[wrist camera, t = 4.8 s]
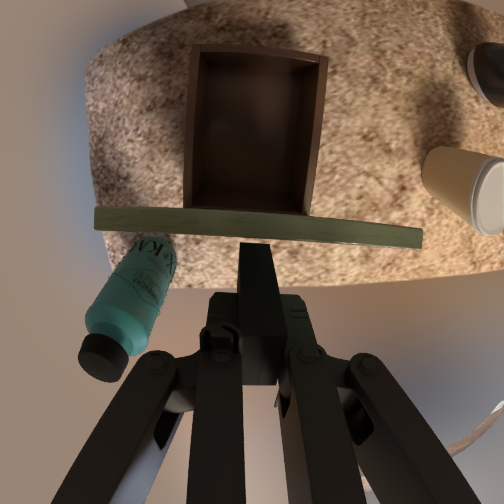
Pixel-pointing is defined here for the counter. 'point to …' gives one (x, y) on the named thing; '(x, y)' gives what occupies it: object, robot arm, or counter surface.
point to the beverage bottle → (127, 309)
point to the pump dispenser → (488, 71)
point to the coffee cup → (467, 186)
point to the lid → (255, 226)
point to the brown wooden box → (252, 128)
